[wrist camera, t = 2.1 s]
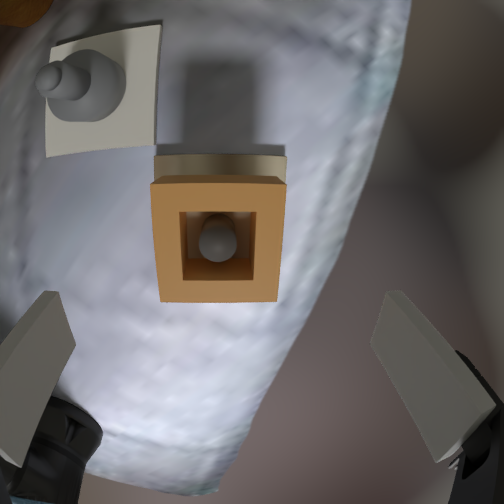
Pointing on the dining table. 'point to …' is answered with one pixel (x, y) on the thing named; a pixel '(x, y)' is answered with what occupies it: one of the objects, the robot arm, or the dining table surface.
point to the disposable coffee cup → (22, 12)
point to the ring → (234, 269)
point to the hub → (102, 91)
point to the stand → (219, 222)
